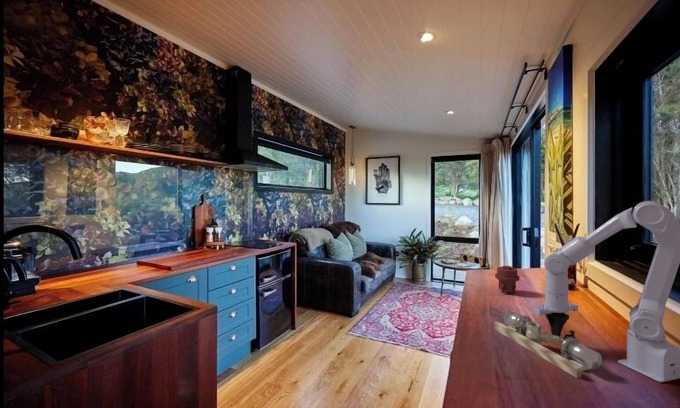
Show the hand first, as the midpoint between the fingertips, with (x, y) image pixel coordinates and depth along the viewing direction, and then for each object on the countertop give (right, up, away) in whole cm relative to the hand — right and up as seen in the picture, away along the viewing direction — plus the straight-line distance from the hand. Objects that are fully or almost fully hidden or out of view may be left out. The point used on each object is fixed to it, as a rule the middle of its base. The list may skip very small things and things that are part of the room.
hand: (555, 335), depth 94 cm
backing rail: (-9, -3, -3) cm, 10 cm away
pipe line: (-4, -3, -1) cm, 5 cm away
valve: (-4, -3, -2) cm, 5 cm away
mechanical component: (+12, -1, +49) cm, 50 cm away
